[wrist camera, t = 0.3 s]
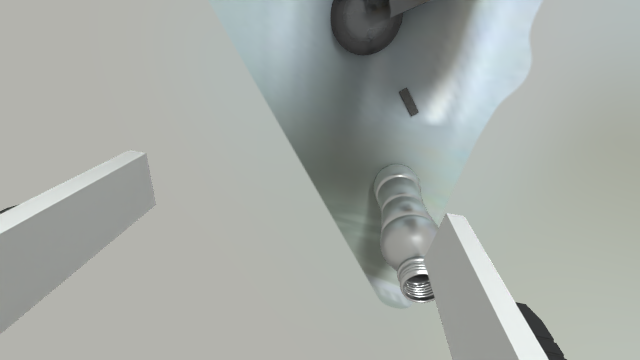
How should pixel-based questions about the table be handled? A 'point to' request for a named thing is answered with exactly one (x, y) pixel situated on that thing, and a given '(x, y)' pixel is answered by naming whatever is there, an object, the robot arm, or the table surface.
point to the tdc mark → (408, 101)
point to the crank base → (357, 45)
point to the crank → (373, 16)
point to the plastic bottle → (405, 229)
